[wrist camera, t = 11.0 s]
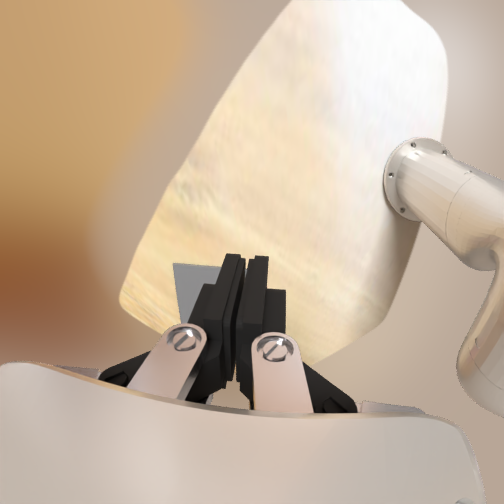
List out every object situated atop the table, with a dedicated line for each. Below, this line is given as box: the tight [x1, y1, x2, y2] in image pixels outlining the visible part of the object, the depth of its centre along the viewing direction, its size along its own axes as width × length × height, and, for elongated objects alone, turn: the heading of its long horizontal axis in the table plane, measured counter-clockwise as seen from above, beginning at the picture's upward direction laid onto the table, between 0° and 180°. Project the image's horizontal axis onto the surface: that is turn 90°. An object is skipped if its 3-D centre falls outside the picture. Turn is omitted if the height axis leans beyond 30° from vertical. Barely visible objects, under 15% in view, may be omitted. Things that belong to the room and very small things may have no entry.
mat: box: [173, 263, 247, 324], centre depth 49 cm, size 14×14×1 cm
